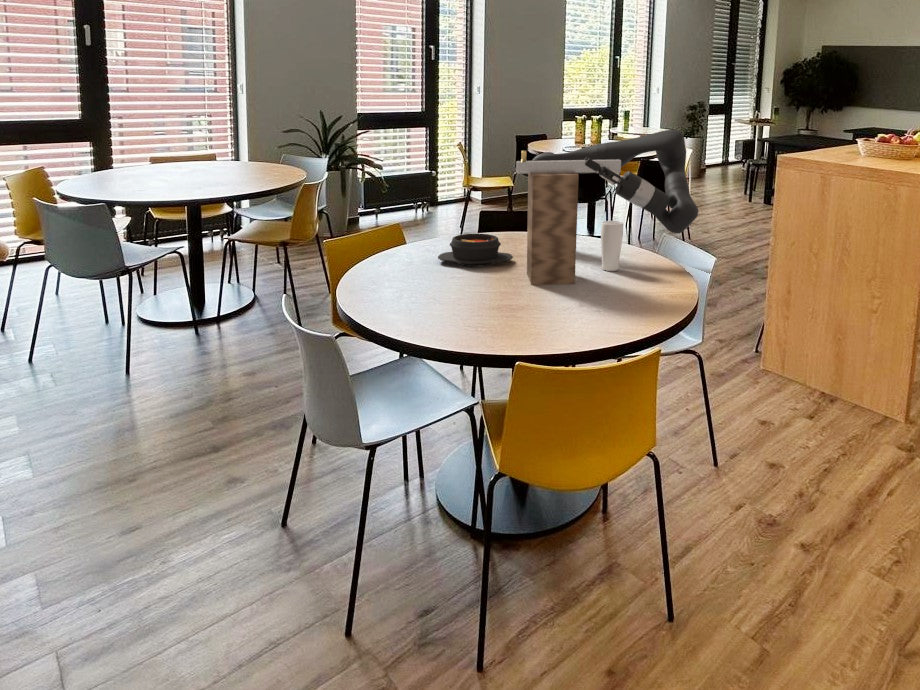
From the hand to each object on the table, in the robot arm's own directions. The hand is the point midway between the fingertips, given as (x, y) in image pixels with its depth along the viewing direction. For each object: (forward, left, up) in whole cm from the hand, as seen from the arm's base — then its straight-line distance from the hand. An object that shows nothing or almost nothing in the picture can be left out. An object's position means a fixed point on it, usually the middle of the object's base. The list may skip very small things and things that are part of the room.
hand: (585, 160), depth 231 cm
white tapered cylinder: (+2, +15, -35) cm, 38 cm away
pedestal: (-7, -6, -35) cm, 36 cm away
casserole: (-39, -2, -35) cm, 53 cm away
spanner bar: (-4, -3, -3) cm, 6 cm away
